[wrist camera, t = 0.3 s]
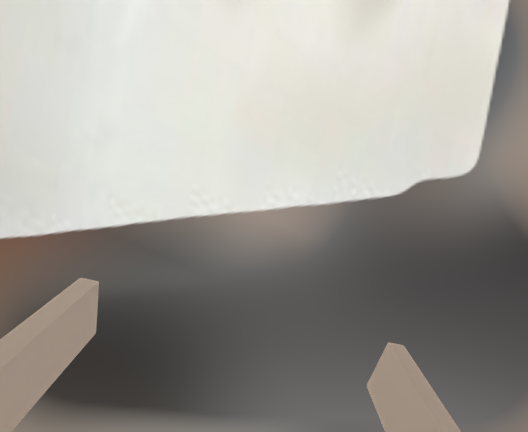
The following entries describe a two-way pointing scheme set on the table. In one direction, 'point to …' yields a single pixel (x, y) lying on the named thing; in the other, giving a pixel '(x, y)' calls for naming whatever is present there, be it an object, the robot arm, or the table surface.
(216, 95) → the table surface
